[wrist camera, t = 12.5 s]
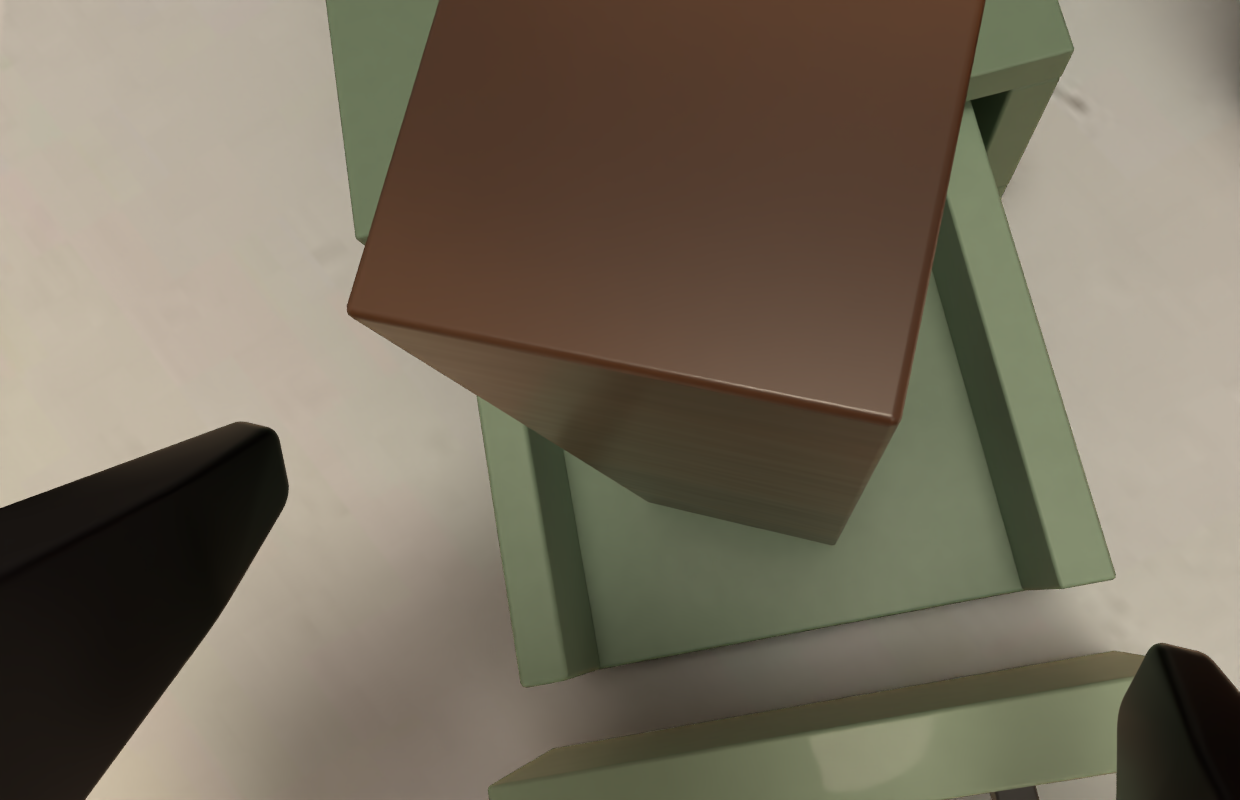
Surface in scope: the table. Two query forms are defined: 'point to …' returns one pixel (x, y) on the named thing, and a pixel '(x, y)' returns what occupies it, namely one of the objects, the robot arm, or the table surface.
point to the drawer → (836, 573)
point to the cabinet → (405, 8)
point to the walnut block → (679, 233)
